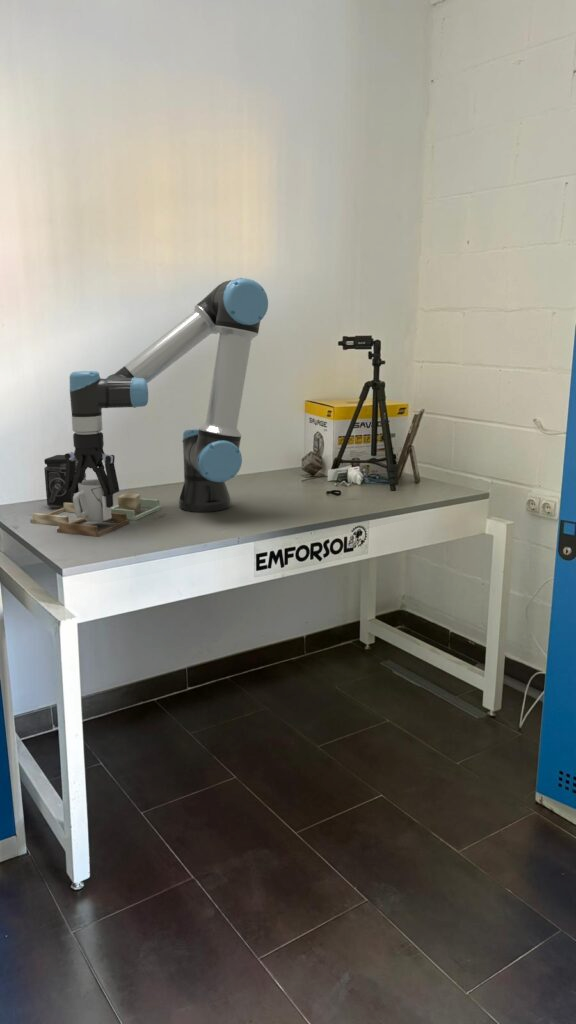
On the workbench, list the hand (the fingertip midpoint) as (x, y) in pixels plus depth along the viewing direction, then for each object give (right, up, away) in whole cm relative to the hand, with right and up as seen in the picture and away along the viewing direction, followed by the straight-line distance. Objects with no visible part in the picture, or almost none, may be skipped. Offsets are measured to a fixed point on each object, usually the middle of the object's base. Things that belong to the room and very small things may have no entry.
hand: (93, 517), depth 204 cm
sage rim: (+6, +1, +17) cm, 18 cm away
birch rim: (-10, 0, +10) cm, 15 cm away
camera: (-13, +3, +24) cm, 28 cm away
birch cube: (+6, +1, +17) cm, 18 cm away
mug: (0, -1, 0) cm, 1 cm away
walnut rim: (0, -3, +1) cm, 3 cm away
